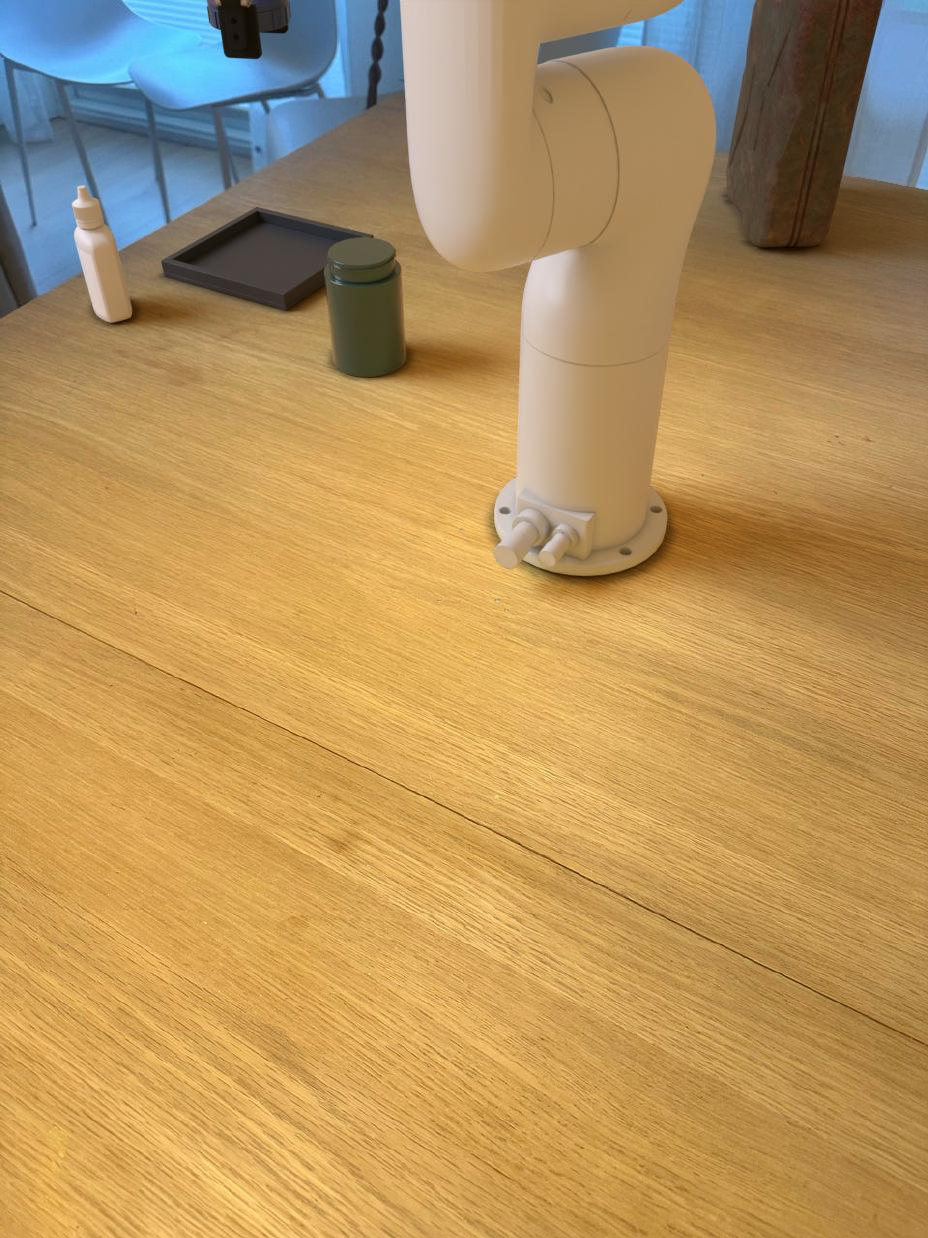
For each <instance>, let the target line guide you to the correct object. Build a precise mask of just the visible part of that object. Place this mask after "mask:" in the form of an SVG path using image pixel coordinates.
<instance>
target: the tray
mask: <svg viewBox="0 0 928 1238" xmlns="http://www.w3.org/2000/svg"><path fill="white" fill-rule="evenodd" d="M360 237H369V238H375V236H374V234H371V233H367V232H362V231H359V230H354V229H350V228H346V227H341V226H337V225H334V224H330V223H325V222H321V221H317V220H313V219H308V218H305V217H300V216H296V215H292V214H288V213H284V212H280V211H276V210H272V209H268V208H263V207H259V206H255V207H254V208H252V209H250V210H248V211H246V212H245V213H243V214H241V215H239V216H238V217H235V218H234V219H233V220H231V221H229V222H227V223H225V224H224V225H222V226H220V227H218V228H216V229H214V230H213V231H211V232H210V233H208V234H206V235H204V236H202V237H200V238H199V239H197V240H195V241H193V242H191V243H190V244H188V245H186V246H184V247H182V248H180V249H179V250H177V251H175V252H173V253H172V254H170V255H169V256H166V257H165V258H163V259H161V260H160V262H161V266H162V267H161V268H162V271H163V275H164V277H166V278H170V279H173V280H176V281H181V282H184V283H187V284H190V285H193V286H197V287H201V288H204V289H208V290H210V291H211V290H212V291H216V292H218V293H222V294H225V295H229V296H232V297H236V298H239V299H243V300H246V301H250V302H254V303H258V304H260V305H265V306H268V307H271V308H275V309H278V310H282V311H288V310H289V309H291V308H293V307H294V306H295V305H297V304H298V303H300V302H301V301H303V300H304V299H306V298H307V297H309V296H310V295H312V294H313V293H314V292H316V291H317V290H318V289H320V288H322V287H323V286H325V277H324V269H325V267H326V266H327V264H329V263H328V261H327V256H328V251H329V249H330V248H331V247H332V246H333V245H334V244H336V243H338V242H340V241H343V240H347V239H351V238H360Z"/></svg>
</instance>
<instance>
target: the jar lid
mask: <svg viewBox="0 0 928 1238" xmlns="http://www.w3.org/2000/svg"><path fill="white" fill-rule="evenodd" d="M206 4H207V6H206V10H207V16H208V24H210V26H211V27H212V28H214V29H215V30H218V31H221V30H220V23H219V16H218V10H217V6H216V4H215V1H214V0H206ZM251 4H256V9H257V17H258V25H259V32H266V31H271V30H275V29H279V28H282V27H284V26H286V25H288V26H289V24H290V23H291V18H292V13H291V3H290V0H251Z"/></svg>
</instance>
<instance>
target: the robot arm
mask: <svg viewBox="0 0 928 1238" xmlns="http://www.w3.org/2000/svg"><path fill="white" fill-rule="evenodd" d="M214 1H215V4H216V6H217V10H218V16H219V23H220V30H219V31H220V35H221V42H222V49H223V54H224V56H225V57H226V58H228V59H244V60H259V59H260V58H261V57H262V56H263V49H262V41H261V34H282V35H283V34H286V33H287V32H288V31H289V28H290V27H289V24H288V25H286V26H284V27H282V28H279V29H275V30H271V31H266V32H259V25H258V17H257V9H256V4H251V0H214ZM684 1H685V0H399V8H400V25H401V44H402V45H401V47H402V64H403V80H404V81H403V82H404V96H405V99H404V100H405V118H406V135H407V151H408V164H409V173H410V181H411V188H412V194H413V198H414V203H415V207H416V211H417V215H418V218H419V221H420V224H421V226H422V229H423V231H424V232H425V235H426V237H427V239H428V240H429V242H430V244H431V246H432V247H433V248H434V250H435V251H436V252H437V253H438V254H439V256H441V257H442V258H443V259H444V261H446V262H447V263H449V264H450V265H452V266H454V267H456V268H458V269H461V270H463V271H467V272H473V273H490V272H497V271H501V270H505V269H510V268H514V267H517V266H522V265H524V264H529V263H531V264H530V266H529V269H528V273H527V276H526V279H525V284H524V289H523V294H522V302H521V316H520V317H521V320H520V339H519V341H520V342H519V371H518V372H519V374H518V375H519V377H518V379H519V380H518V405H517V406H518V408H517V410H518V411H517V414H518V415H517V442H516V443H517V445H516V473H515V474H516V476H515V477H514V478H512V479H511V480H509V481H508V482H507V483H506V484H505V486H503V488H502V489H501V490H500V491H499V493H498V495H497V498H496V499H495V505H494V509H493V512H494V513H493V520H494V521H493V524H494V527H495V531H496V534H497V536H498V537H499V539H500V542H499V543H498V544H497V545H496V547H495V548H494V549H493V558H494V559H495V561H496V563H497V564H498V565H499V566H500V567H502V568H504V569H507V570H514V569H516V568H517V567H518V566H519V565H520V563H521V562H522V561H523V562H526V563H528V564H531V565H532V566H534V567H536V568H539V569H542V570H546V571H548V572H552V573H556V574H561V575H567V576H577V577H578V576H579V577H580V576H581V577H592V576H604V575H610V574H614V573H615V574H616V573H620V572H623V571H625V570H628V569H630V568H633V567H636V566H638V565H639V564H641V563H643V562H645V561H646V560H648V559H649V558H650V557H651V556H652V555H653V554H655V553H656V552H657V550H658V549H659V548H660V546H661V545H662V544H663V542H664V540H665V536H666V533H667V527H668V518H669V517H668V510H667V507H666V505H665V503H664V500H663V498H662V497H661V495H660V494H659V493H658V491H657V490H656V489H655V488H653V486H651V482H652V475H653V469H654V468H653V467H654V459H655V452H656V446H657V438H658V431H659V425H660V417H661V408H662V401H663V394H664V387H665V380H666V372H667V365H668V357H669V351H670V342H671V338H672V334H673V327H674V319H675V312H676V305H677V297H678V293H679V292H678V291H679V285H680V281H681V276H682V270H683V265H684V262H685V258H686V253H687V249H688V245H689V242H690V239H691V236H692V234H693V233H692V232H693V229H694V226H695V223H696V220H697V218H698V215H699V212H700V209H701V206H702V203H703V200H704V197H705V195H706V191H707V189H708V186H709V185H708V184H709V182H710V179H711V174H712V171H713V166H714V161H715V155H716V146H717V120H716V112H715V107H714V104H713V103H714V102H713V99H712V97H711V93H710V91H709V89H708V87H707V85H706V84H705V81H704V79H703V78H702V76H701V75H700V73H699V72H698V71H697V70H696V69H695V67H693V65H692V64H690V63H689V62H688V61H687V60H685V59H684V58H683V57H681V56H679V55H678V54H676V53H674V52H672V51H670V50H667V49H663V48H660V47H656V46H651V45H632V44H631V45H630V44H629V45H622V46H621V45H620V46H614V47H613V46H612V47H607V48H601V49H597V50H591V51H587V52H582V53H578V54H573V55H568V56H564V57H559V58H554V59H550V60H547V61H544V62H542V63H539V64H538V60H539V52H540V47H541V45H542V44H545V43H550V42H555V41H559V40H565V39H569V38H573V37H578V36H582V35H588V34H592V33H596V32H601V31H605V30H610V29H613V28H619V27H622V26H623V27H624V26H626V25H631V24H635V23H639V22H642V21H646V20H650V19H653V18H656V17H658V16H661V15H663V14H666V13H668V12H669V11H671V10H673V9H674V8H676V7H678V6H679V5H681V4H682V3H683V2H684Z"/></svg>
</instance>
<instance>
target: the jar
mask: <svg viewBox="0 0 928 1238" xmlns="http://www.w3.org/2000/svg"><path fill="white" fill-rule="evenodd" d="M396 258H397V249H396V248H395V246H394V245H393V244H391V243H390V242H389V241H386V240H384V239H382V238H376V237H374V238H369V237H360V238H351V239H347V240H343V241H340V242H338V243H336V244H334V245H333V246H332V247H331V248H330V249H329V251H328V256H327V261H328V263H329V264H327V266H326V267H325V269H324V277H325V285H324V286H325V295H326V303H327V312H328V313H327V314H328V323H329V324H328V325H329V332H330V341H331V342H330V343H331V350H332V351H331V352H332V362H333V364H334V366H335V368H337V369H338V370H339V371H340V372H342V373H344V374H345V375H350V376H353V377H357V378H358V377H359V378H373V377H381V376H386V375H388V374H391V373H393V372H396V371H397V370H399V369H400V368H401V367H403V365H404V364H405V363H406V360H407V347H406V327H405V309H404V291H403V271H402V269H403V268H402V266H401V264H400V262H399V261H398V260H396Z"/></svg>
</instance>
